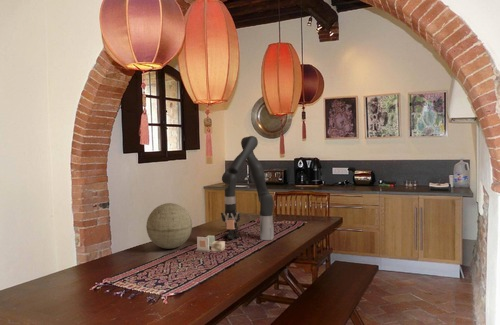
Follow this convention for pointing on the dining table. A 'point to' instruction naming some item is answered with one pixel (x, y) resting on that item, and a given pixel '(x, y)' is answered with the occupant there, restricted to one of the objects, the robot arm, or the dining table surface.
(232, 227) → the terracotta block
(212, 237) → the sage block
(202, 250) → the board
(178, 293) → the dining table surface
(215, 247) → the beech base block
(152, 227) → the celestial globe
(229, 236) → the helicopter
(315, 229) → the dining table surface
